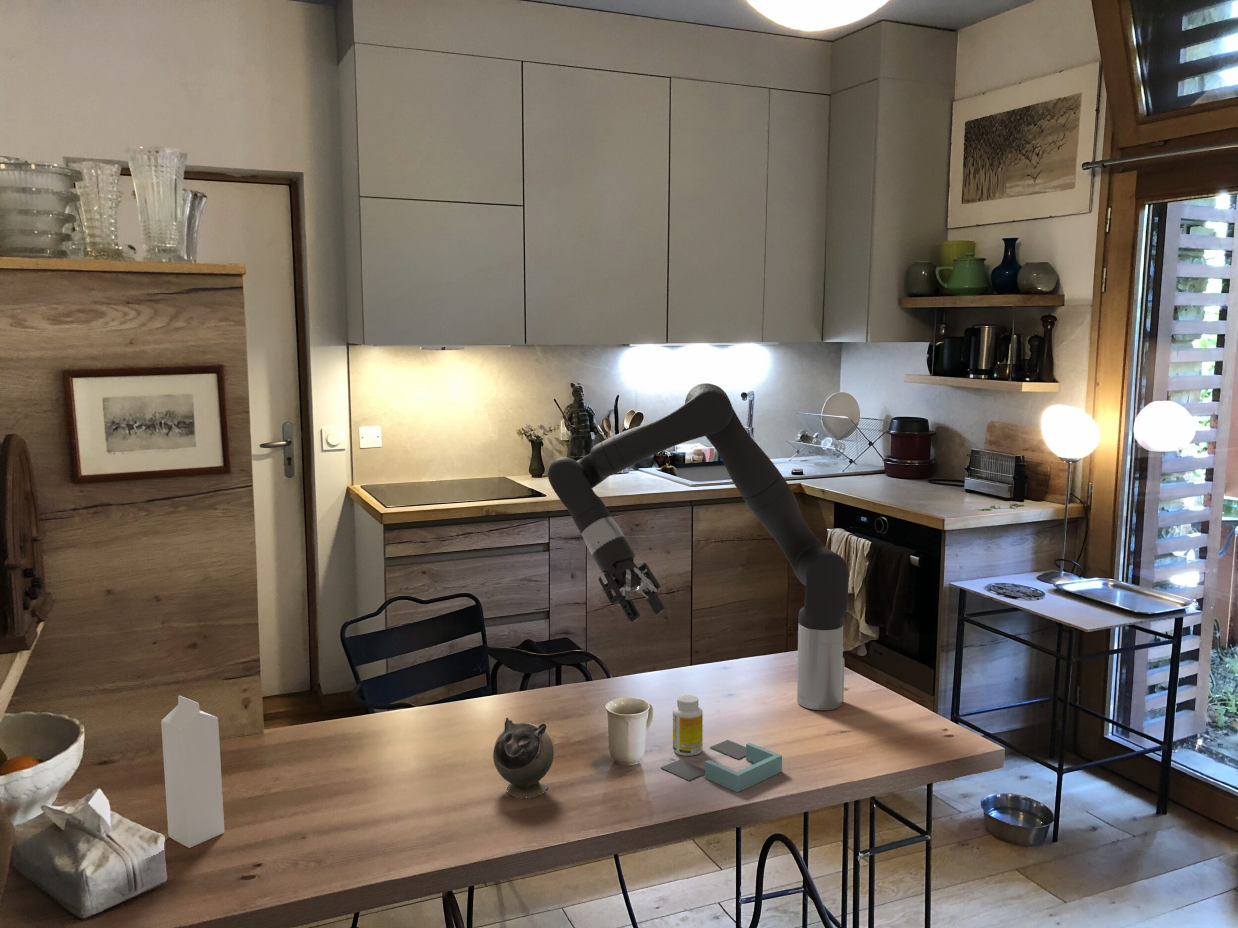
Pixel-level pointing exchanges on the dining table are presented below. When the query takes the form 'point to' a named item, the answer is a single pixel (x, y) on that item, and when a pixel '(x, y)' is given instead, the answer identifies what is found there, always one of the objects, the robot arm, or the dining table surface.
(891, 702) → the dining table surface
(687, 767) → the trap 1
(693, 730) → the supplement bottle
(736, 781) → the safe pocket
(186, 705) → the milk
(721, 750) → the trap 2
